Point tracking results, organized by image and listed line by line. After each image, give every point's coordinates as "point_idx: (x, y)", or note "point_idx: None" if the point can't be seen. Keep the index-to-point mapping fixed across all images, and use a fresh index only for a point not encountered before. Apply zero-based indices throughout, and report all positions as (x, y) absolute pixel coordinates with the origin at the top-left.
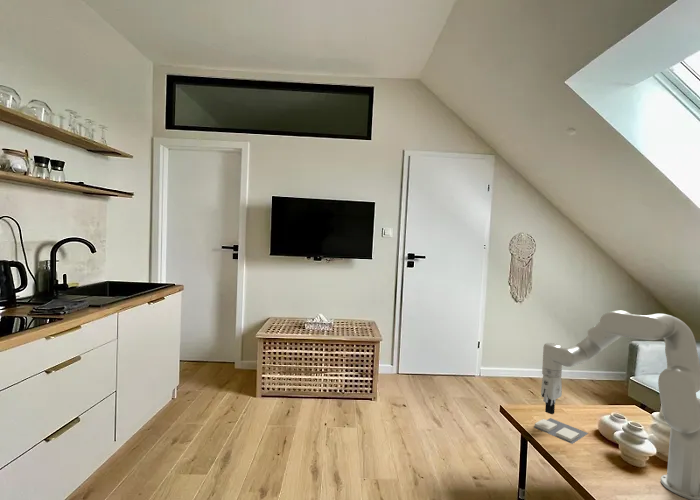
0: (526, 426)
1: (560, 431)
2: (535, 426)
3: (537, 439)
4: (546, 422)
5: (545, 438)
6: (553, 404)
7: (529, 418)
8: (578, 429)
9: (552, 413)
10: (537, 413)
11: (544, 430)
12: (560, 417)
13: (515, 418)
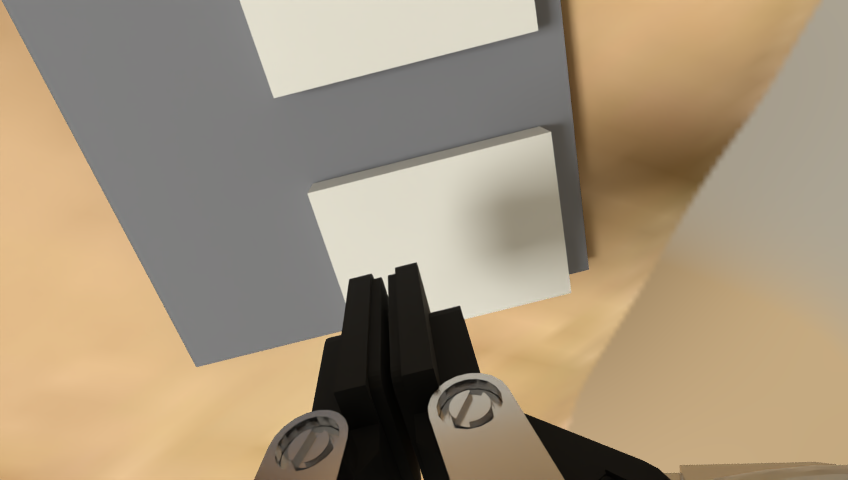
0: (596, 313)
1: (448, 26)
2: None
3: (765, 74)
4: None
5: (660, 58)
6: (314, 428)
7: None
8: (31, 42)
9: (417, 270)
10: (235, 472)
11: None
12: (22, 364)
13: None
